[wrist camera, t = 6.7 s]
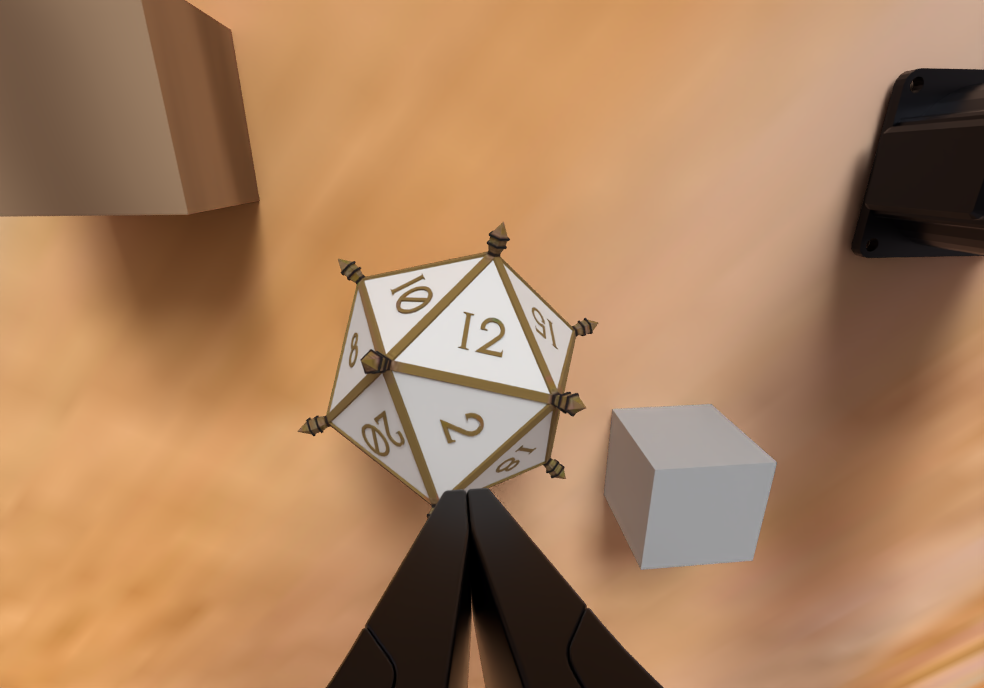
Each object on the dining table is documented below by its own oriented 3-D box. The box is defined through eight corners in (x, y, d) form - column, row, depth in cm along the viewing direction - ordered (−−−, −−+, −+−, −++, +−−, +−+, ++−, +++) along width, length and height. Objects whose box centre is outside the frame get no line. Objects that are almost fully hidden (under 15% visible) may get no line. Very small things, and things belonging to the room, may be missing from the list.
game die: (459, 346, 23) (426, 575, 17) (306, 236, 17) (187, 517, 12) (636, 278, 18) (670, 568, 12) (499, 95, 13) (449, 464, 7)
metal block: (232, 30, 15) (134, -33, 10) (260, 200, 16) (188, 214, 12) (56, 26, 14) (-134, -43, 9) (104, 201, 16) (-36, 216, 11)
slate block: (710, 403, 21) (777, 462, 17) (695, 487, 23) (752, 560, 18) (611, 408, 21) (655, 470, 16) (603, 493, 22) (640, 569, 18)
